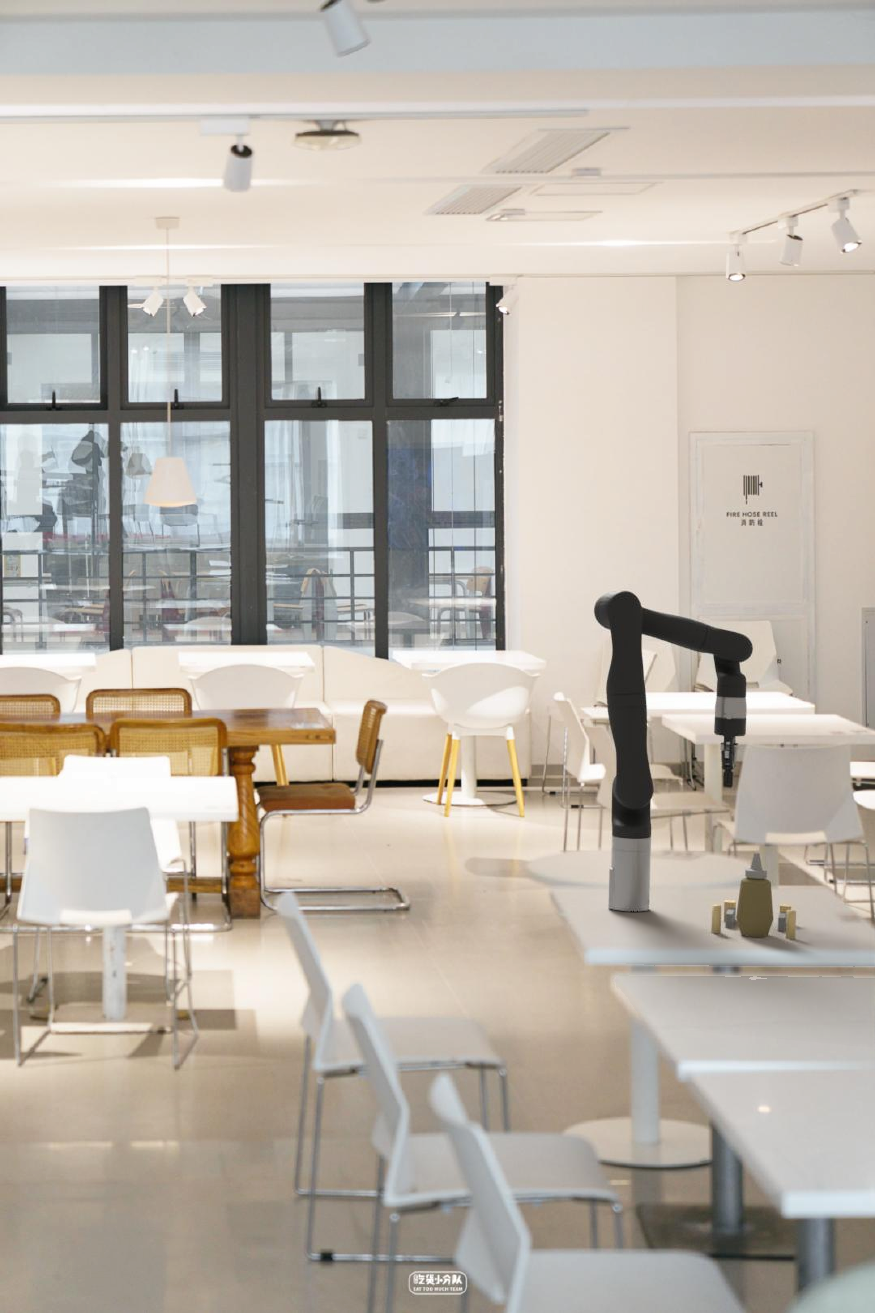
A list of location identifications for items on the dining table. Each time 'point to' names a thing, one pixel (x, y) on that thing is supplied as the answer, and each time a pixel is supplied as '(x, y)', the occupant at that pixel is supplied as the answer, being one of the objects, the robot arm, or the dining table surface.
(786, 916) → the wooden post frame
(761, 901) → the squeeze bottle
